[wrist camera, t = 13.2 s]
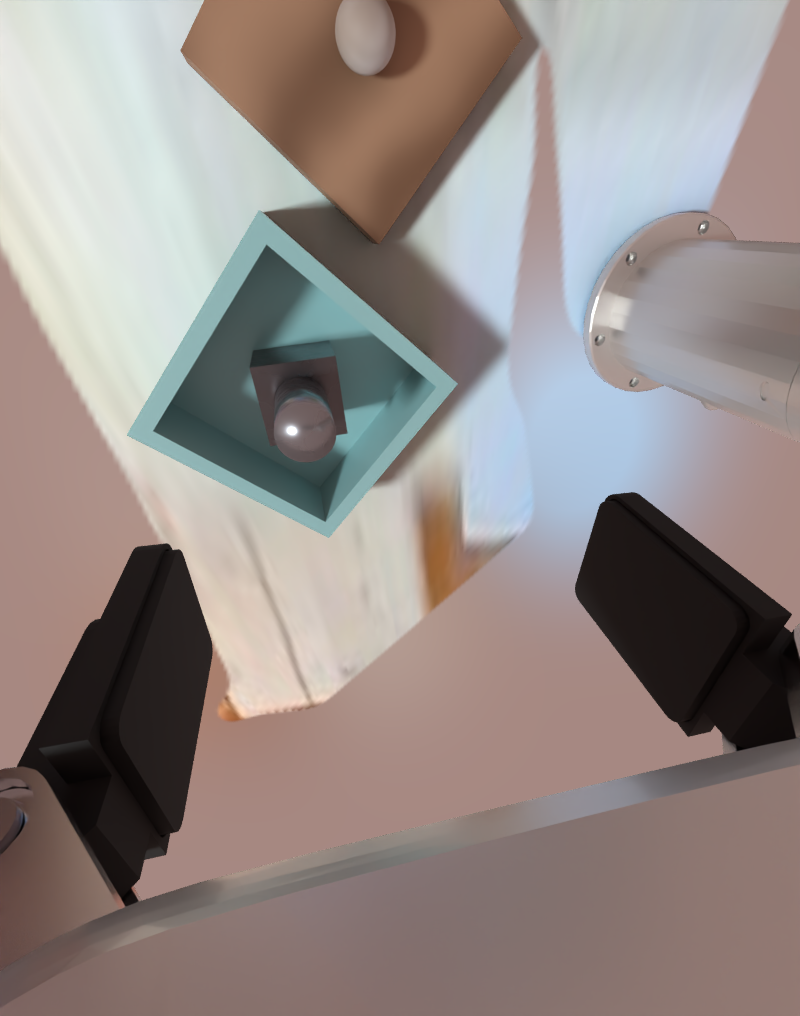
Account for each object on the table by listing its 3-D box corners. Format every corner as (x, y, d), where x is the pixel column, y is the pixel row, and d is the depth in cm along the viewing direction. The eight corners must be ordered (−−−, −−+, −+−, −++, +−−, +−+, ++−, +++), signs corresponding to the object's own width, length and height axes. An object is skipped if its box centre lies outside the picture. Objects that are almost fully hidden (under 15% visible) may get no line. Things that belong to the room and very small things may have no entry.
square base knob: (329, 340, 30) (345, 380, 22) (340, 411, 32) (358, 468, 25) (252, 350, 29) (243, 395, 21) (271, 421, 32) (268, 484, 24)
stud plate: (506, 50, 24) (549, 17, 21) (373, 243, 28) (388, 246, 24) (328, -227, 19) (341, -347, 15) (187, 63, 22) (168, 28, 18)
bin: (431, 359, 33) (458, 383, 28) (322, 495, 37) (328, 537, 32) (262, 212, 26) (259, 210, 21) (151, 400, 30) (126, 435, 25)
